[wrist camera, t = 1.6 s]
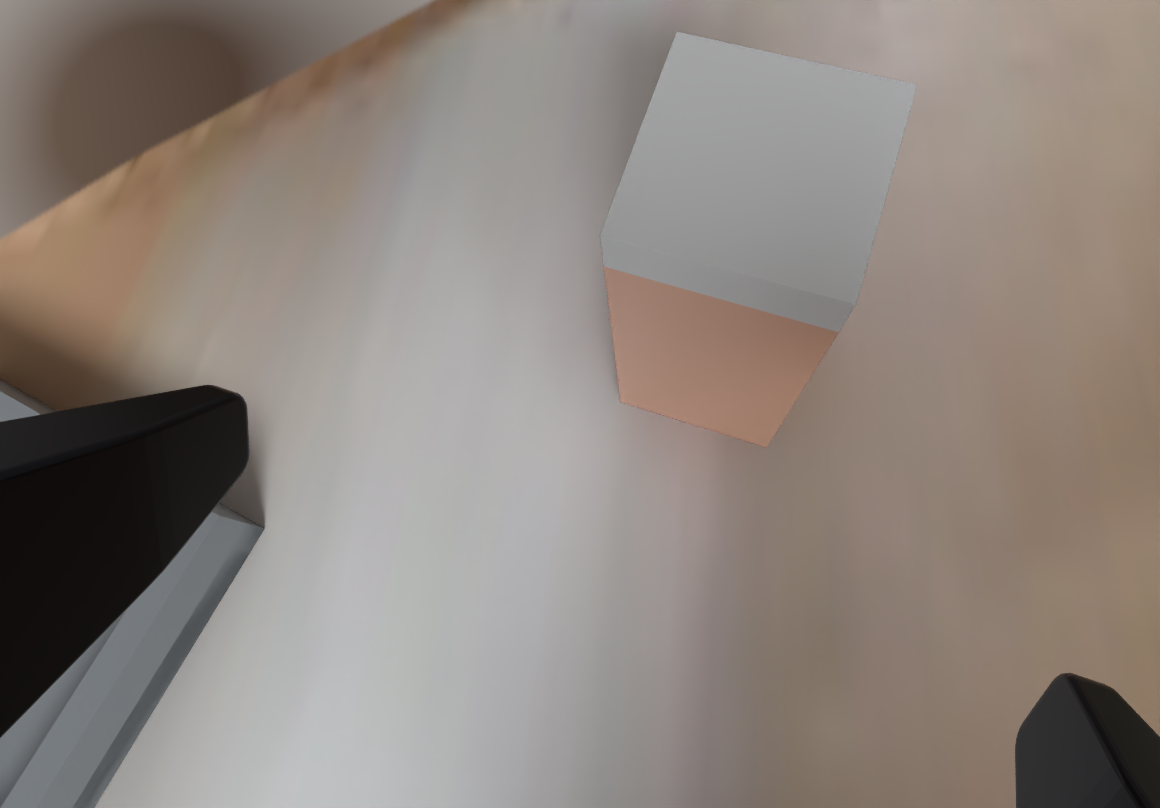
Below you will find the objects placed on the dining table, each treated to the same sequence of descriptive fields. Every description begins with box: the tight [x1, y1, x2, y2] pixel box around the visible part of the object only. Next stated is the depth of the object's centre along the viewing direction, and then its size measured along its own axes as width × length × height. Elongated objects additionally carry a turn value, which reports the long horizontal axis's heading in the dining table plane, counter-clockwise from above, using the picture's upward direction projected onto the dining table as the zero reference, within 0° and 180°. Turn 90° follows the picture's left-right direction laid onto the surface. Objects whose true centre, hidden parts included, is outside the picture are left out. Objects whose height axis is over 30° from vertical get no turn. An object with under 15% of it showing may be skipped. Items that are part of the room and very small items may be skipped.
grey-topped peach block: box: [600, 32, 917, 448], centre depth 18 cm, size 4×4×10 cm
